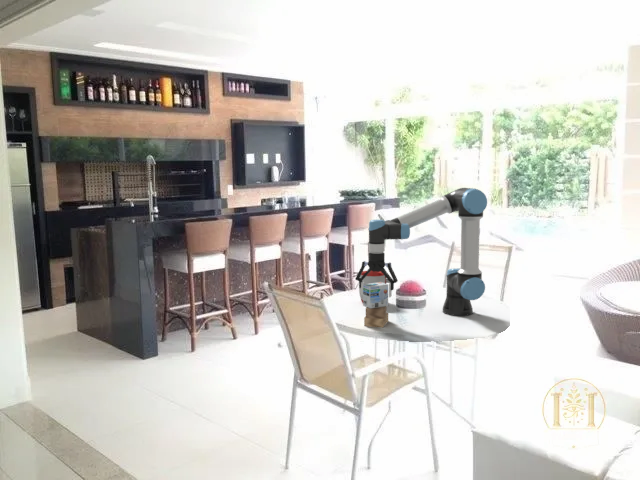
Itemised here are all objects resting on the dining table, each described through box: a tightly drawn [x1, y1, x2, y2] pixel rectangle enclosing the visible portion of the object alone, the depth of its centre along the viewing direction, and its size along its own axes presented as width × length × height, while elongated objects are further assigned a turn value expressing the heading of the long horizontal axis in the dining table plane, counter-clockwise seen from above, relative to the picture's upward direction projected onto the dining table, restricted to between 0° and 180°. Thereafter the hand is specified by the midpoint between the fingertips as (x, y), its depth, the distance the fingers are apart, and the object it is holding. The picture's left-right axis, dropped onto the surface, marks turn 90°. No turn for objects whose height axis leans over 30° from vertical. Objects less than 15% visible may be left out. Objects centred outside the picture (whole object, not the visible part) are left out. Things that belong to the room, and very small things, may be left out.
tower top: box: [365, 306, 388, 319], centre depth 283 cm, size 9×12×4 cm
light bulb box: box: [362, 282, 389, 309], centre depth 282 cm, size 11×7×11 cm, turn 118°
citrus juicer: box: [358, 270, 390, 304], centre depth 323 cm, size 16×17×20 cm
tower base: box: [363, 312, 389, 329], centre depth 283 cm, size 9×12×4 cm
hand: (376, 295), depth 282 cm, fingers open, 13 cm apart
